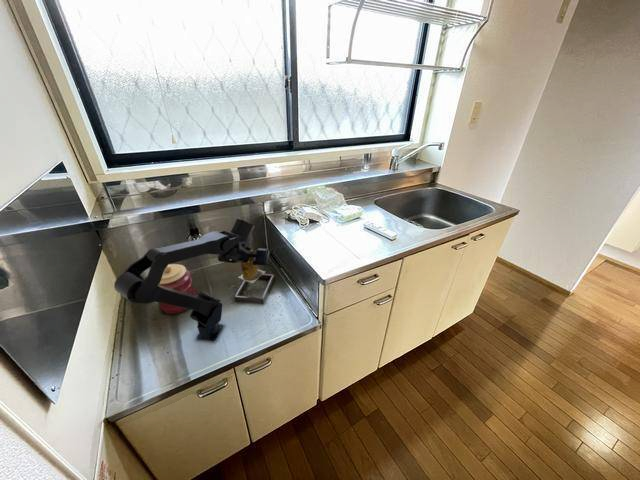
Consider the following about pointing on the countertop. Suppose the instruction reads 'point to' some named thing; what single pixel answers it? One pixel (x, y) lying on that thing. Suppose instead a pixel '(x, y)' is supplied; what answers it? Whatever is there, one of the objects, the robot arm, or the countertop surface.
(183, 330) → the countertop surface
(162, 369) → the countertop surface
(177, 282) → the kitchen canister
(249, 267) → the condiment
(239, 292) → the tray
